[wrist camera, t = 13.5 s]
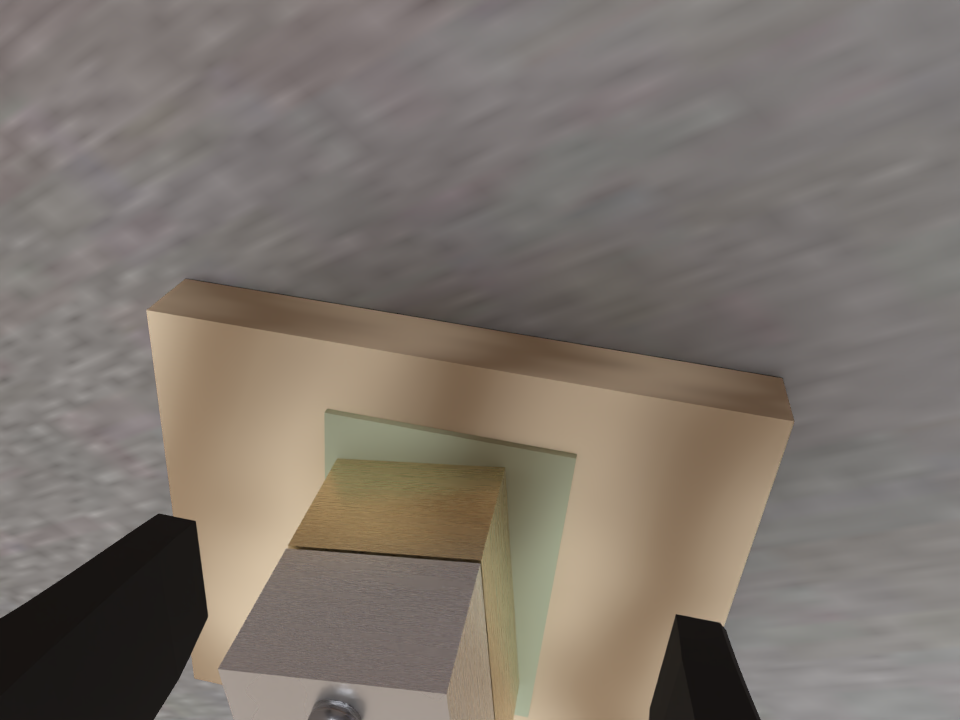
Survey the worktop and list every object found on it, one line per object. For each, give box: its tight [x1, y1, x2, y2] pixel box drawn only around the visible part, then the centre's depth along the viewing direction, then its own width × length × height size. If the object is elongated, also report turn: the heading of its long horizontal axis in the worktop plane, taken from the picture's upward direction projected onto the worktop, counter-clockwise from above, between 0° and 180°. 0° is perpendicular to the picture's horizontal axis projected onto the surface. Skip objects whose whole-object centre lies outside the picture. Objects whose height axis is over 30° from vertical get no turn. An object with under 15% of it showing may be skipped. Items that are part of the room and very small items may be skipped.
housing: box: [218, 458, 519, 720], centre depth 20 cm, size 8×4×7 cm, turn 4°
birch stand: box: [147, 279, 794, 720], centre depth 24 cm, size 16×14×2 cm
